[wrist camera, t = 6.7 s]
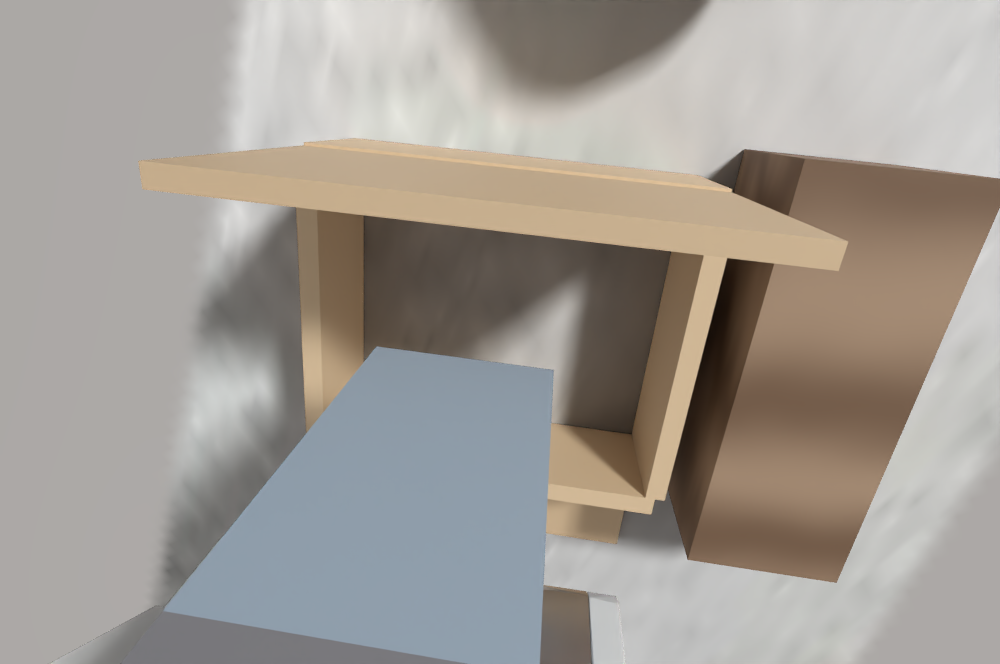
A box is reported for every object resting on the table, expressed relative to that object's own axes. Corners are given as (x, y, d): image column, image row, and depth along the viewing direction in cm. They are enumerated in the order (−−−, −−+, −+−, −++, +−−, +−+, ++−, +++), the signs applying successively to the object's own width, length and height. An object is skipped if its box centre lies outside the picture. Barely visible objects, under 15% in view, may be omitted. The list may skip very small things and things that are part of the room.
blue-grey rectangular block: (376, 346, 12) (-217, 1079, 3) (553, 370, 12) (512, 1257, 3) (375, 550, 14) (42, 1315, 5) (523, 573, 14) (445, 1425, 5)
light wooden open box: (346, 137, 24) (119, 154, 12) (707, 176, 23) (871, 238, 11) (349, 499, 31) (213, 739, 19) (623, 541, 30) (663, 824, 18)
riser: (744, 149, 22) (805, 158, 17) (896, 165, 22) (1011, 180, 16) (663, 472, 28) (687, 559, 22) (781, 489, 28) (836, 582, 22)
